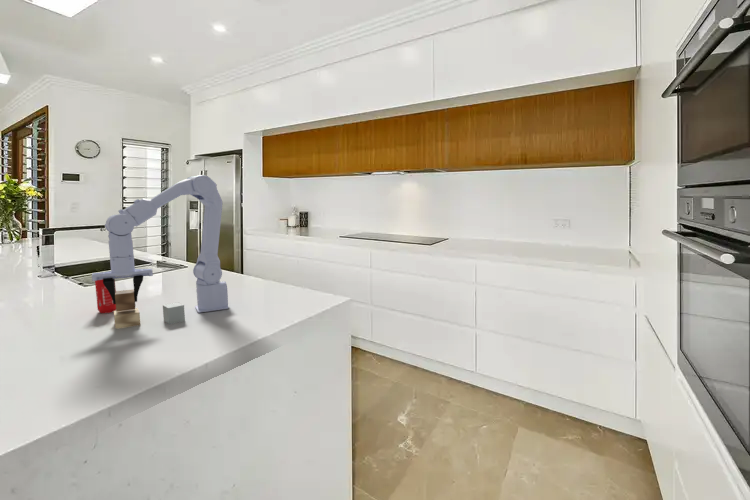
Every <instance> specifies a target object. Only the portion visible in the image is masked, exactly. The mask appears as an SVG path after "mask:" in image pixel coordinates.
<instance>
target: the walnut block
mask: <svg viewBox="0 0 750 500" xmlns="http://www.w3.org/2000/svg"><path fill="white" fill-rule="evenodd" d="M115 301H116V312H117V311H126V310H134V309H135V308H136V302H135V300H134V288H133V289H125V290H124V289H123V290H116V293H115Z"/></svg>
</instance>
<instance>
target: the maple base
mask: <svg viewBox="0 0 750 500" xmlns="http://www.w3.org/2000/svg"><path fill="white" fill-rule="evenodd" d="M113 318H114V326H115V330H117V329H125V328H129V327H130V328H131V327H137V326H141V315H140V310H139V308H138V307H135V309H134V310H126V311H117V312H116V311H114V312H113Z"/></svg>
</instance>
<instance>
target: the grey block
mask: <svg viewBox="0 0 750 500" xmlns="http://www.w3.org/2000/svg"><path fill="white" fill-rule="evenodd" d="M162 314H163V321H164V322H165V323H166V324H168V325H172V324H176V323H182V322H185V321H186V317H185V316H186V314H185V304H183V303H180V302H174V303H167V304H166V303H165V304H162Z"/></svg>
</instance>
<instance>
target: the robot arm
mask: <svg viewBox="0 0 750 500" xmlns="http://www.w3.org/2000/svg"><path fill="white" fill-rule="evenodd" d="M217 185H218V184H217V183H216V182H215V181H214V180H213V179H212V178H211V177H209V176H208V175H205V174H200V175H195V176H194V175H191V176H189V177H187V178H185V179H182V180H180V181H178V182H176V183H174V184H172V185H171V186H169V187H168V188H166V189H164V190H162V191H161V192H159V193H158V194H157V195H155V196H153V197H152V198H151V199H147V198H141V199H138V198H137V199H135V200H133V204H131V205H129V206H127V207H126V208H124V209H119V210H118V211H117V212H118V214H117V213H116V214H112V215H110V216H109V217H107V219H106V220H105V224H104V227H105V230H106V231H108V236H107V237H108V251H109V263H110V271H100V272H92V273H91V280H92V282H95V281H97V280H103V284H104V286H105V287H106V288H107V290H108V291H109V293H110V295H111V297H112V300H113V303H114V304H116V301H115V293H116V292H115V288H116V280H117V279H123V278H124V279H127V278H132V282H133V289H134V300H135V303H137V302H138V294H139V291H140V288H141V285H142V283H143V281H144V277H153V276H154V273H153V268H136V267H135V256H134V254H135V252H134V244H133V242H134V241H133V238H132V232H133V231H134V229H135V228H136V227H138V226H140V225H142V224H144V223H145V222H146V221H148V220H150V219H152V218H153V217H155V216H156V215H157V212H158V209H159V208H161V207H163V206H164V205H166V204H168V203H169V202H172V201H174V200H175V199H177V198H179V197H180V196H188V195H190V196H192V197H194V198H196V199H198V201H199V202H200V203H201V204H202V205H203V206H204V213H203V222H202V223H203V224H202V232H201V233H202V234H201V243H200V244H201V245H200V253H199V255H198V257H197V260H196V264H195V265H194V267H193V269H192V273H193V275H194V277H195V278H196V281H195V285H196V287H195V288H196V301H197V302H196V303H197V305H195V306H194V307H195V309H196V312H197V313H200V314H201V313H205V312H206V313H207V312H214V311H221V310H222V311H223V310H228V309H229V295H228V293H229V292H228V284H227V282H226V281H224V280H223V281H220V280H221V279H222V276H223V270H222V268H221V260H220V258H219V256H218V253H219V243H220V234H221V233H220V232H221V225H222V223H221V222H222V215H223V200H222V198H221V195H220V193H219V191H218V187H217Z"/></svg>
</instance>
